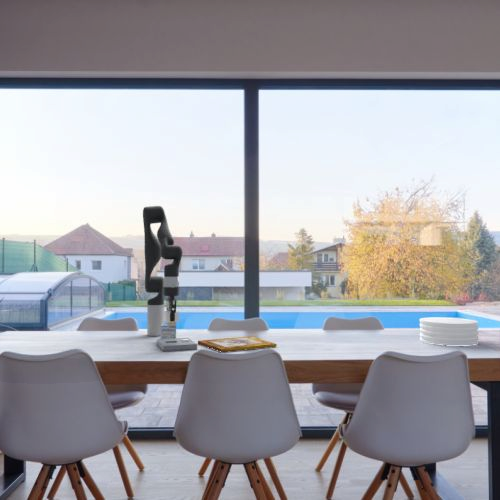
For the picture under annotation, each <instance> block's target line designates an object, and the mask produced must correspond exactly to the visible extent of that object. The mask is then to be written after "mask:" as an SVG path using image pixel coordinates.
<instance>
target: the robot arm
mask: <svg viewBox="0 0 500 500" xmlns="http://www.w3.org/2000/svg"><path fill="white" fill-rule="evenodd" d="M142 220H143V221H142V222H143V223H142V224H143V232H144V265H145V269H144V273H145V274H144V289H145V290H144V291H145V292H146V293H150V294H153V293H154V294H155V293H156V294H157V293H158V294H157V295H156V296H154V297H152V298H149V299H148V300H147V307H146V308H147V309H146V310H147V314H146V315H147V316H146V319H147V321H146V322H147V324H146V326H147V327H146V328H147V329H146V335H147V336H148V337H150V336H151V337H160V325H165V322H164V311H165V300H166V311H170V321H171V322H172V321H175V314H174V313H176V311H177V301H178V300H176V297H178V296H180V277H179V275H180V271H179V270H180V264H181V260H182V256H183V248H182V246H181V245H179V244H178V245H176V244H175V240H174V237H173V234H172V233H171V231H170V228H169V224H168V219H167V215H166V213H165V209H164V208H163V207H162V206H161V205H153V206H152V205H151V206H144V207H143V210H142ZM153 224H160V225H159V227H158V229H157V232H156V234H155V233H154V232H153V230H152V227H151V225H153ZM161 259H163V260H172V262H171V263H168V264H166V265H164V267H163V269H164V270H163V271H164V272H163V276H159V275H158V276H152V273H153V271H154V269H155V267H156V266H157V265H158V263H159V262H160V261H161ZM165 297H167V298H166V299H165Z"/></svg>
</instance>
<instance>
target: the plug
mask: <svg viewBox="0 0 500 500" xmlns="http://www.w3.org/2000/svg"><path fill="white" fill-rule="evenodd" d="M174 314H175V321H172V322H171V321H170V311H167V310H164V324H165V325H166V326H176V327H177V323H180V322H179V321H180V312H179V310H176V313H174Z"/></svg>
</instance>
